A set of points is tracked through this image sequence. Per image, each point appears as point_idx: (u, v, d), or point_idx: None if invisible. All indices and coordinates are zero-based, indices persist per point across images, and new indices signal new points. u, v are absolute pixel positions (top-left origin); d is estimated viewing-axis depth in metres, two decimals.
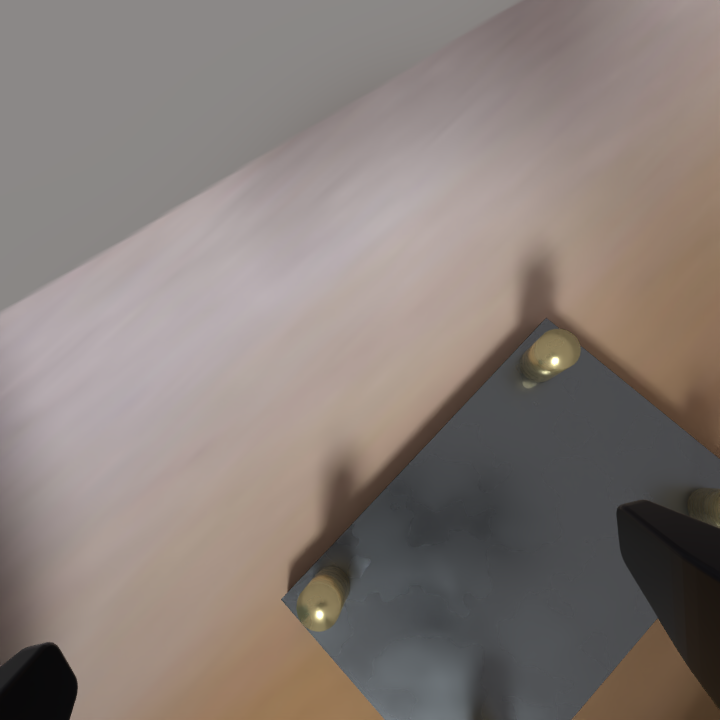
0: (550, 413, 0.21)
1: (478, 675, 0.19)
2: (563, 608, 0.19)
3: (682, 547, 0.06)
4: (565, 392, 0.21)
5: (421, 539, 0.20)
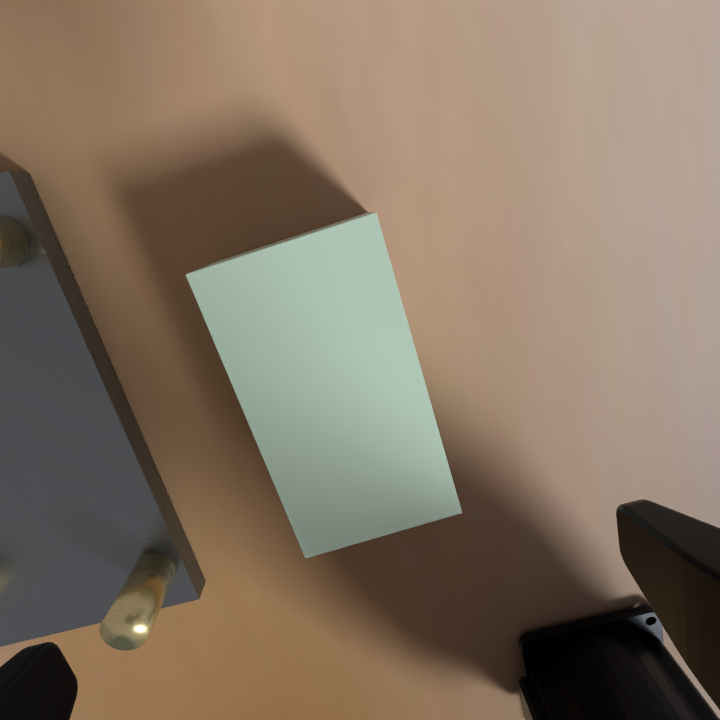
0: None
1: (81, 543, 0.19)
2: (52, 445, 0.17)
3: (682, 547, 0.06)
4: None
5: None
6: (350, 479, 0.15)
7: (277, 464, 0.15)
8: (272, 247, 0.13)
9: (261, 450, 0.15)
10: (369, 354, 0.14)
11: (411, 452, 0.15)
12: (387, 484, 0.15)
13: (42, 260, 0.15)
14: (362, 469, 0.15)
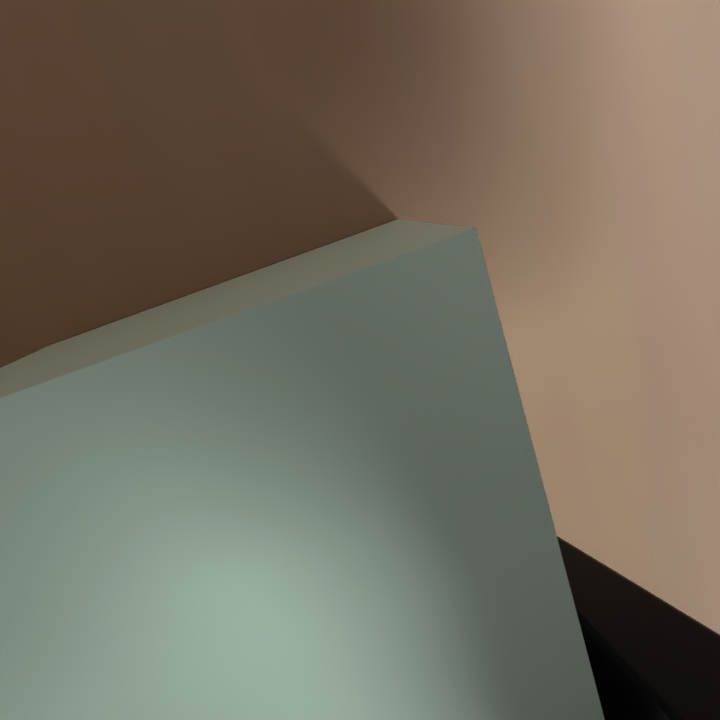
0: None
1: None
2: None
3: None
4: None
5: None
6: None
7: None
8: (46, 386, 0.03)
9: None
10: (438, 704, 0.04)
11: None
12: None
13: None
14: None
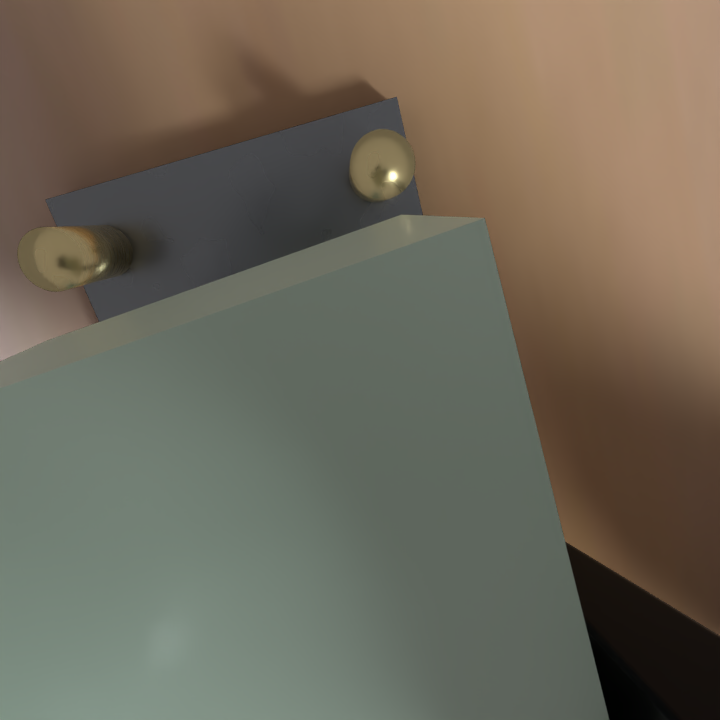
0: (176, 277, 0.15)
1: None
2: None
3: None
4: (157, 243, 0.15)
5: None
6: None
7: None
8: (46, 377, 0.03)
9: None
10: (442, 702, 0.04)
11: None
12: None
13: (411, 194, 0.15)
14: None
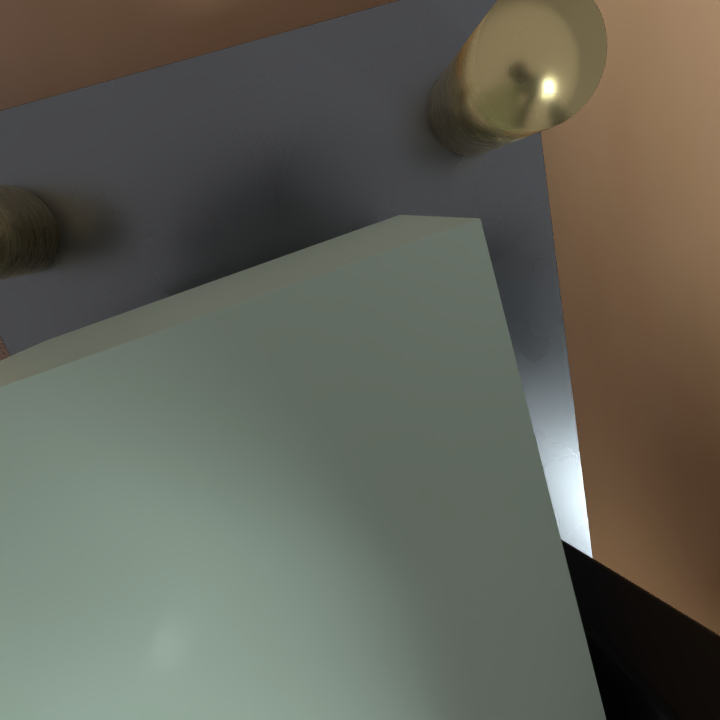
0: (133, 277, 0.09)
1: None
2: None
3: None
4: (101, 218, 0.09)
5: None
6: None
7: None
8: (41, 378, 0.03)
9: None
10: (438, 702, 0.04)
11: None
12: None
13: (530, 142, 0.09)
14: None
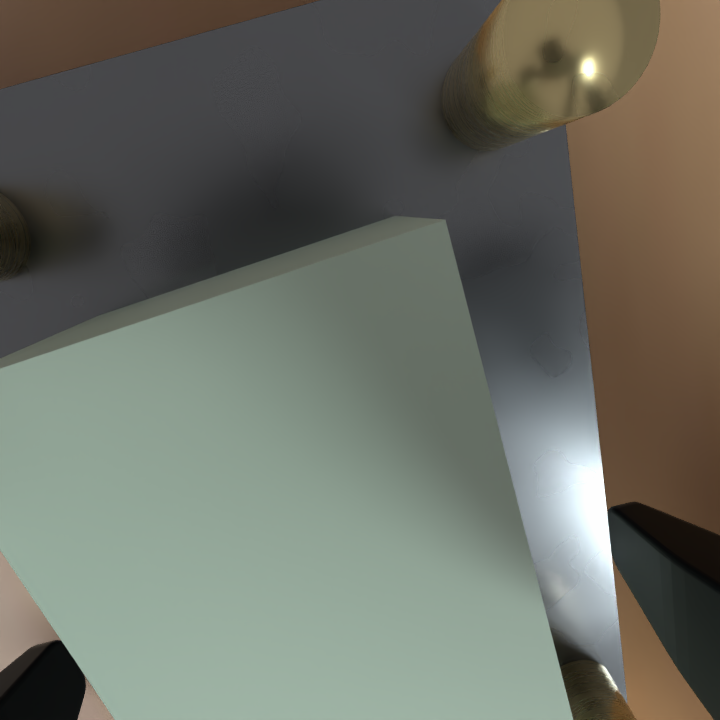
0: (113, 284, 0.08)
1: None
2: None
3: (671, 550, 0.06)
4: (77, 220, 0.08)
5: None
6: None
7: None
8: (143, 324, 0.04)
9: None
10: (416, 579, 0.06)
11: None
12: None
13: (554, 136, 0.08)
14: None
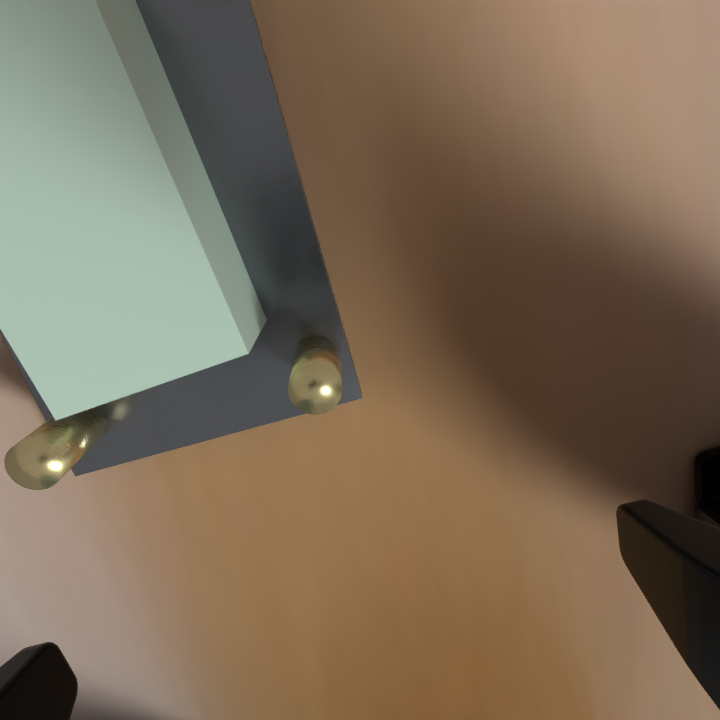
0: None
1: None
2: None
3: (682, 547, 0.06)
4: None
5: None
6: (92, 307, 0.12)
7: None
8: None
9: None
10: (82, 122, 0.11)
11: (167, 267, 0.12)
12: (143, 313, 0.12)
13: None
14: (107, 293, 0.12)
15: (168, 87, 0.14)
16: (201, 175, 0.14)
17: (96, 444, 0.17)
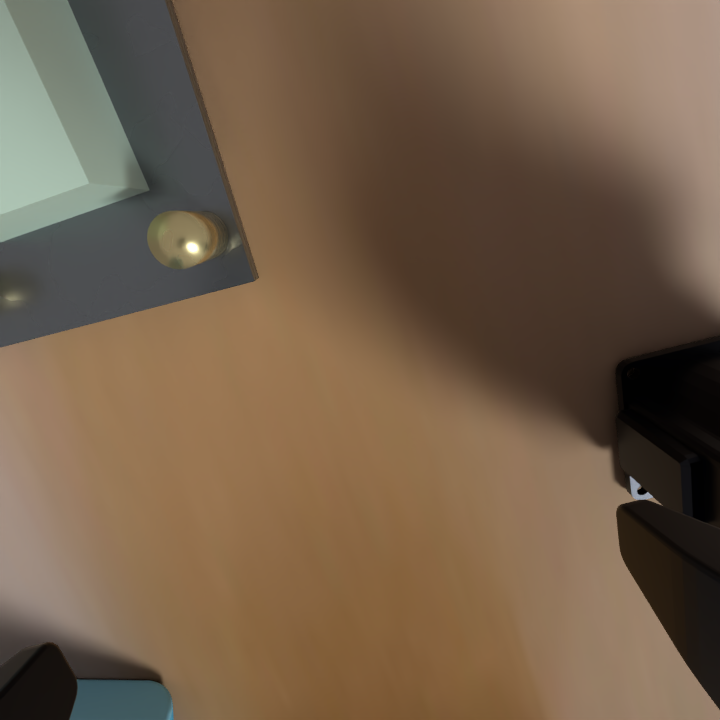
0: None
1: None
2: None
3: (682, 547, 0.06)
4: None
5: None
6: None
7: None
8: None
9: None
10: None
11: None
12: None
13: None
14: None
15: None
16: (64, 17, 0.14)
17: None
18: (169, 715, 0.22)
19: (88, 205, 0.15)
